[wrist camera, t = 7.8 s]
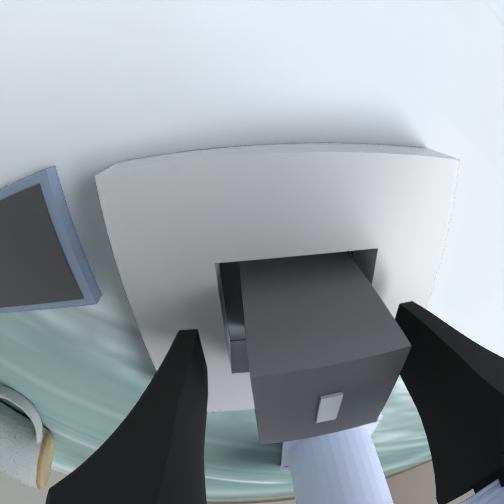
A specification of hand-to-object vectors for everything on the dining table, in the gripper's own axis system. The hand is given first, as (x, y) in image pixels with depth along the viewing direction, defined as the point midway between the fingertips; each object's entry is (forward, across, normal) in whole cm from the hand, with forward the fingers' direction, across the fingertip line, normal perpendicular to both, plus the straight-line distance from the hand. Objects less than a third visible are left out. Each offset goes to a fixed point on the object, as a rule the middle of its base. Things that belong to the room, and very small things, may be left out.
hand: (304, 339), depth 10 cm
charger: (+3, 0, 0) cm, 3 cm away
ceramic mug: (+3, +25, +13) cm, 28 cm away
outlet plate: (+3, 0, 0) cm, 3 cm away
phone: (+4, +14, -3) cm, 15 cm away
